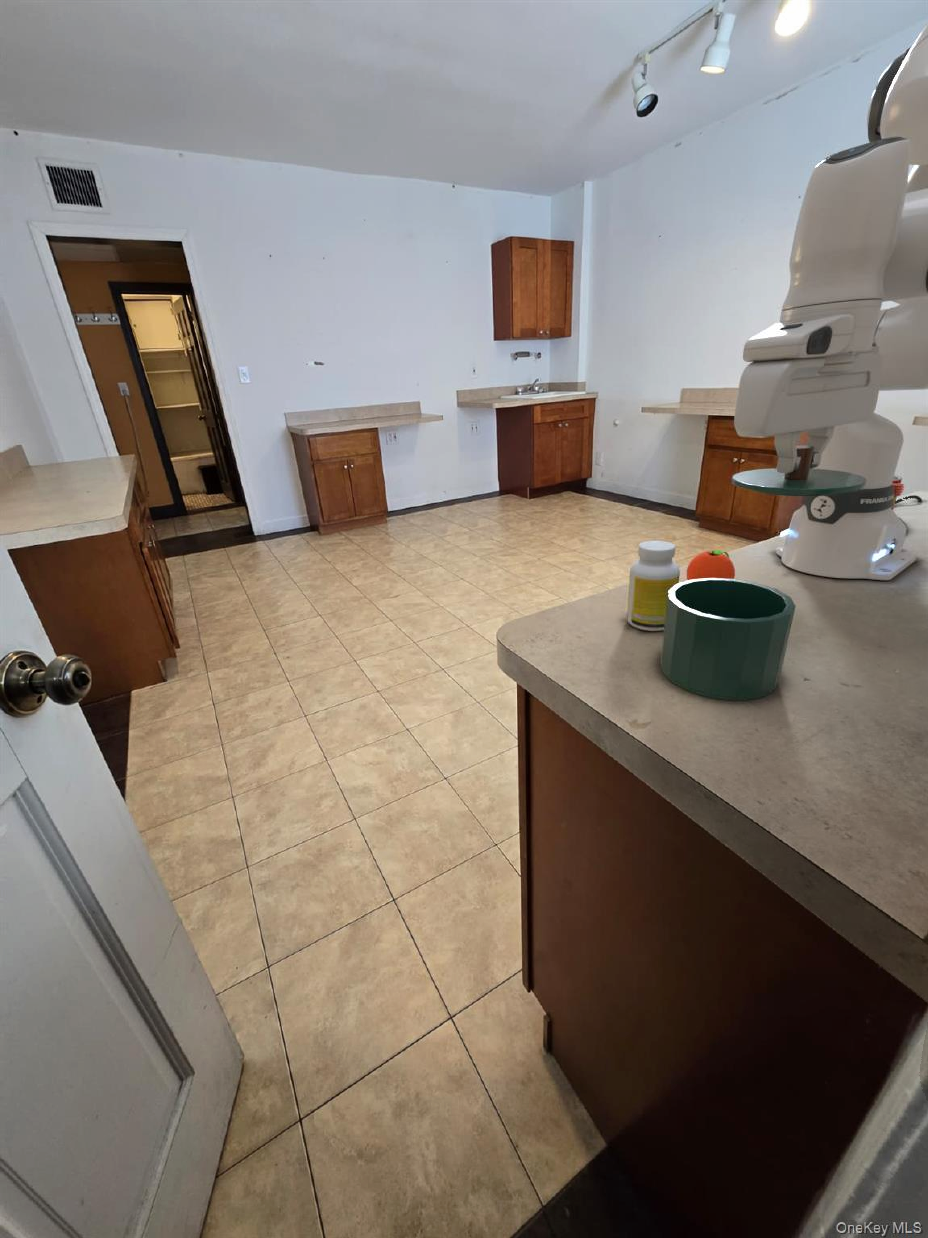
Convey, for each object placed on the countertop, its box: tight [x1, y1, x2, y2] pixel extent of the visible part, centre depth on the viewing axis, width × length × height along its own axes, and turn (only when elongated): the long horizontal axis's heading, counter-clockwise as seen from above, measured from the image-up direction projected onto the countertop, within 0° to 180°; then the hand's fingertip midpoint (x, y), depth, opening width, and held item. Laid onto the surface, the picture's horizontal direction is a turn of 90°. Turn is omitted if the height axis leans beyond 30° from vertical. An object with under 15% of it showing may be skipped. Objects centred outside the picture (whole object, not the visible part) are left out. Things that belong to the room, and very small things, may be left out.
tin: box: [659, 578, 796, 702], centre depth 59 cm, size 13×13×10 cm
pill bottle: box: [626, 540, 681, 632], centre depth 72 cm, size 6×6×12 cm
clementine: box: [686, 549, 736, 581], centre depth 81 cm, size 8×7×7 cm
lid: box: [731, 445, 867, 497], centre depth 61 cm, size 14×14×5 cm
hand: (797, 470), depth 61 cm, fingers closed on lid, 2 cm apart
